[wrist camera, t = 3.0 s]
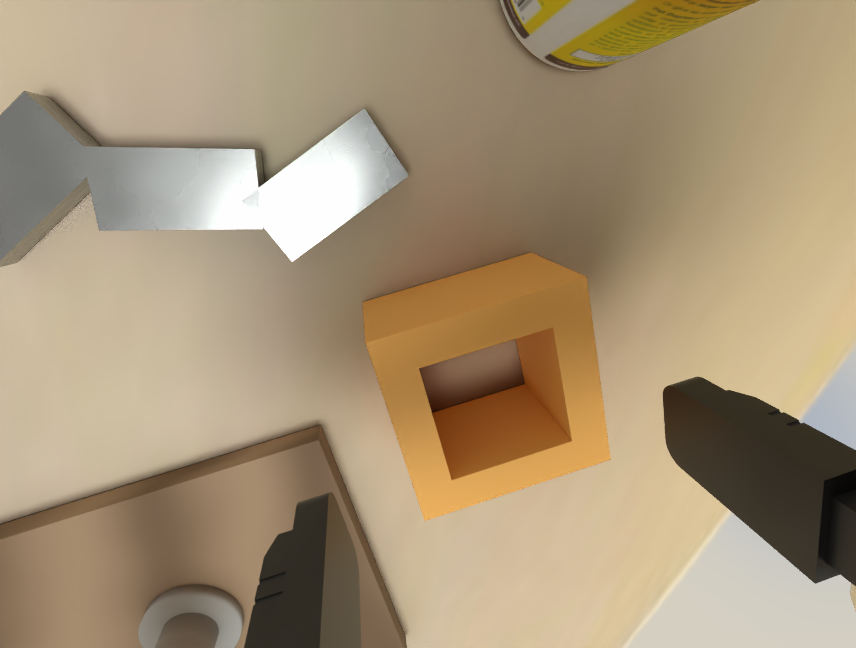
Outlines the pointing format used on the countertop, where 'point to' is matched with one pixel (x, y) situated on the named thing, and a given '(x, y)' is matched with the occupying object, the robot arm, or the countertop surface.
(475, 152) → the countertop surface
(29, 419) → the countertop surface
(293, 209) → the chain tail
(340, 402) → the countertop surface
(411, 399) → the orange square frame
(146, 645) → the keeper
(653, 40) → the supplement bottle
